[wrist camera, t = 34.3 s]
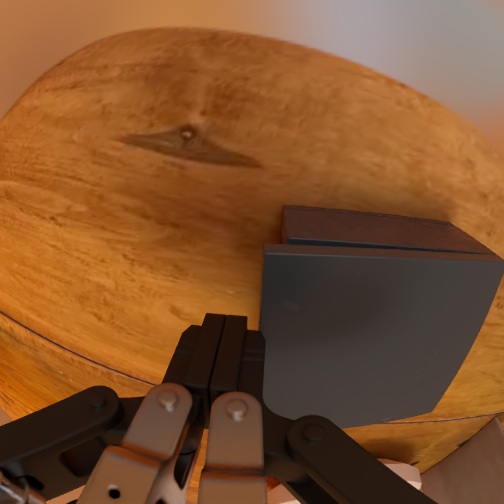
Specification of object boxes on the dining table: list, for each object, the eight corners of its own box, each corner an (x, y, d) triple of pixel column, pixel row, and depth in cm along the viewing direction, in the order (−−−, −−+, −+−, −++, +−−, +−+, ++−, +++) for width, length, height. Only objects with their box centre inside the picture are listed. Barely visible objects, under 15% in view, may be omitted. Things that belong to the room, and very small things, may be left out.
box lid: (252, 420, 14) (251, 432, 13) (263, 242, 10) (263, 252, 9) (427, 403, 14) (431, 412, 13) (497, 254, 10) (507, 262, 9)
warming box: (269, 355, 19) (267, 411, 14) (282, 204, 15) (286, 237, 10) (406, 354, 18) (427, 402, 14) (449, 221, 14) (497, 254, 10)
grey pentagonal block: (444, 472, 30) (463, 554, 12) (418, 476, 29) (435, 568, 11) (513, 416, 23) (549, 504, 6) (495, 416, 23) (535, 520, 5)
